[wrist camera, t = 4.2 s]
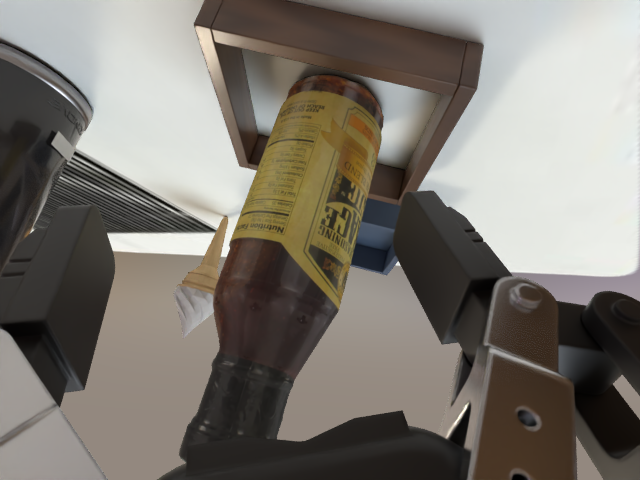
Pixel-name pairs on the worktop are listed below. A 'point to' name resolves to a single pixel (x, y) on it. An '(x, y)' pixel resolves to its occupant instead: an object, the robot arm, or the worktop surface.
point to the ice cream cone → (200, 285)
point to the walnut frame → (339, 54)
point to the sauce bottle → (288, 256)
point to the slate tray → (376, 237)
